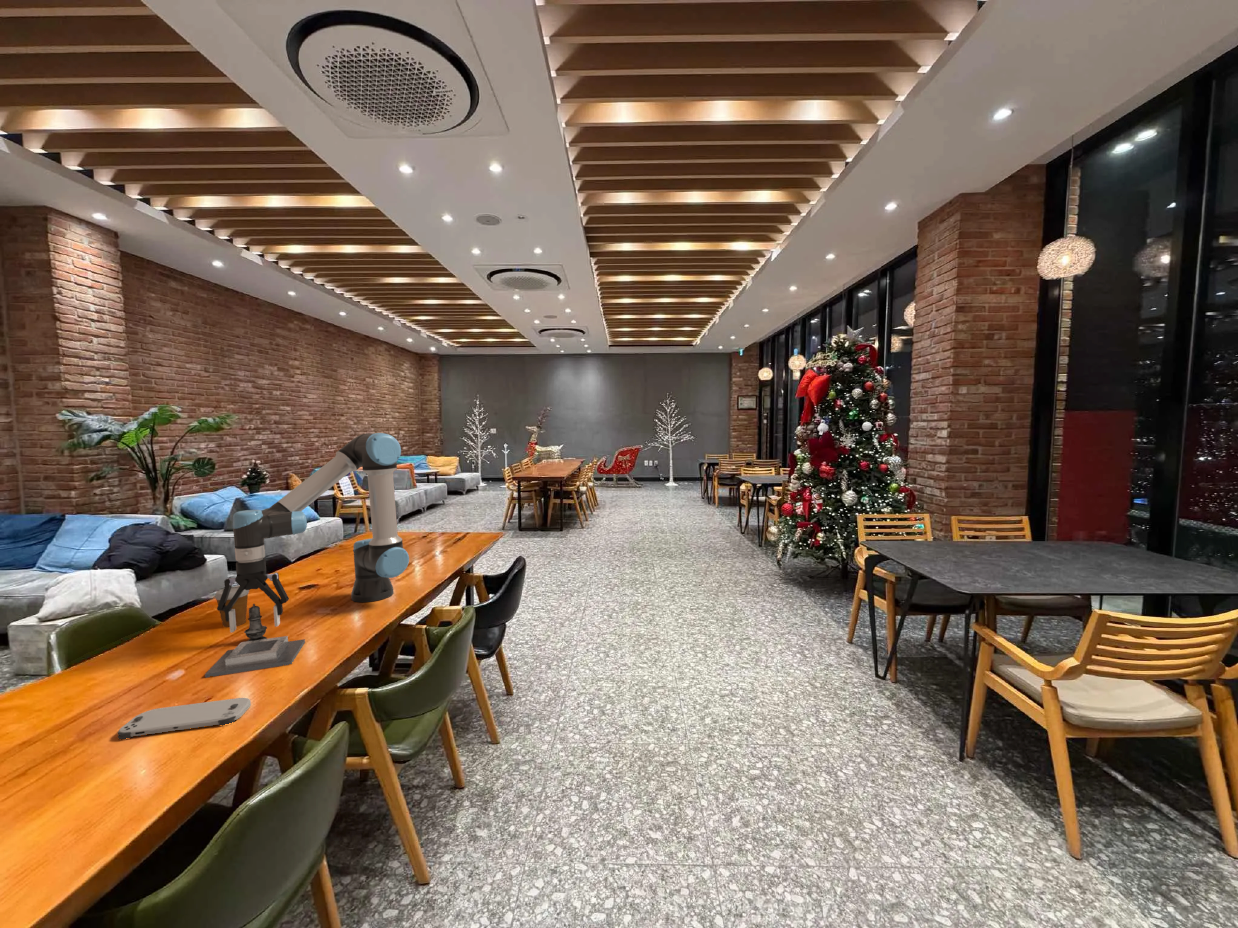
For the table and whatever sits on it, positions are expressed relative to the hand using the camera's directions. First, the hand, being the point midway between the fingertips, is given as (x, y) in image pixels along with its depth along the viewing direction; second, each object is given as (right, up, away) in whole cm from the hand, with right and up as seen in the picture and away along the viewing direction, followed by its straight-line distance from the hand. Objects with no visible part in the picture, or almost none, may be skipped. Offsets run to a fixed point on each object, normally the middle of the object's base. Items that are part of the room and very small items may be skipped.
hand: (255, 627), depth 160 cm
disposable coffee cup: (-18, -4, +15) cm, 24 cm away
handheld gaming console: (+16, -7, -44) cm, 48 cm away
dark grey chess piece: (0, -4, 0) cm, 4 cm away
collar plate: (+10, -5, -13) cm, 17 cm away
